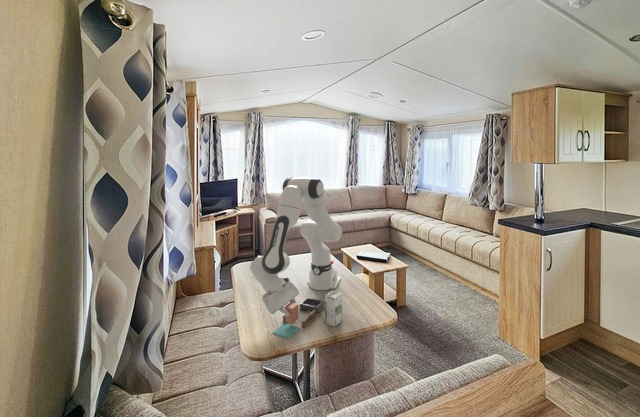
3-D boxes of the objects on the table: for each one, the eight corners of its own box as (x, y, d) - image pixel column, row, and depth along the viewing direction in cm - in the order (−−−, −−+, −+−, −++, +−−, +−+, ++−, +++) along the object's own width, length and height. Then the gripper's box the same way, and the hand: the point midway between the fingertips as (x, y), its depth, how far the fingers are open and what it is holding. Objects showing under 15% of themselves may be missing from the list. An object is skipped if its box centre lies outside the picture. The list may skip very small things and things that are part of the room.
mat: (283, 323, 144) (283, 322, 144) (300, 328, 140) (300, 327, 140) (272, 333, 137) (272, 332, 136) (289, 339, 132) (289, 338, 132)
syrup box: (332, 318, 149) (332, 289, 146) (342, 322, 145) (342, 293, 142) (325, 323, 144) (324, 294, 142) (335, 327, 141) (335, 297, 138)
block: (291, 316, 145) (290, 301, 144) (298, 318, 143) (298, 303, 142) (285, 321, 141) (284, 306, 139) (292, 324, 139) (292, 308, 138)
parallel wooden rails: (296, 310, 156) (296, 304, 156) (316, 315, 151) (316, 309, 150) (283, 322, 146) (282, 316, 145) (303, 327, 141) (303, 321, 140)
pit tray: (307, 302, 165) (307, 297, 164) (324, 306, 160) (324, 300, 160) (299, 309, 158) (299, 303, 157) (317, 313, 153) (316, 307, 153)
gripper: (264, 292, 133) (284, 319, 130) (290, 276, 151) (308, 299, 148) (256, 300, 136) (275, 326, 133) (283, 283, 154) (300, 305, 151)
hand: (293, 311), depth 141 cm, fingers closed on block, 5 cm apart
